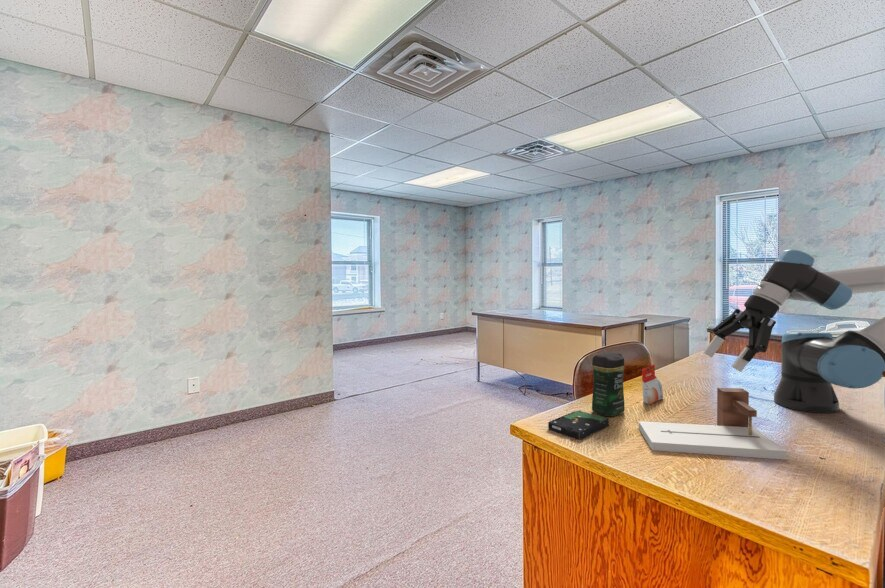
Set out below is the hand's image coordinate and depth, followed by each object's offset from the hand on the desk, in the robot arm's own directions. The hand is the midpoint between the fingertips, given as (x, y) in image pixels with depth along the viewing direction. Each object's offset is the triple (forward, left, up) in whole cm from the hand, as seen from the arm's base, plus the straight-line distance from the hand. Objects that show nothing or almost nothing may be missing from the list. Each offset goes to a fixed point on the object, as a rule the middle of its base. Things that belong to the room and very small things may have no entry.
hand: (720, 361), depth 118 cm
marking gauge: (+1, +15, -16) cm, 22 cm away
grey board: (+11, +21, -16) cm, 29 cm away
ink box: (+15, -12, -17) cm, 26 cm away
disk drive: (+41, +16, -17) cm, 47 cm away
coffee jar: (+31, +2, -16) cm, 35 cm away
